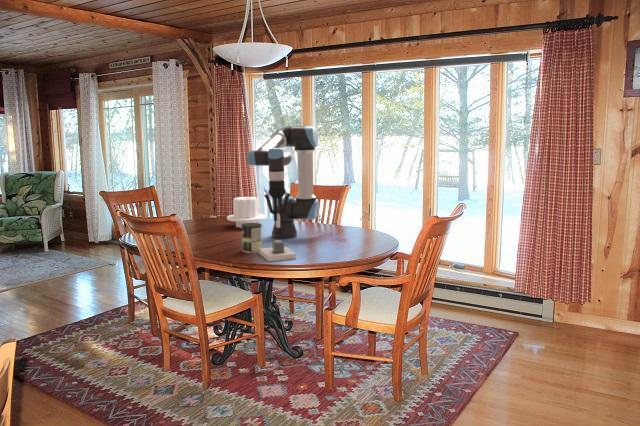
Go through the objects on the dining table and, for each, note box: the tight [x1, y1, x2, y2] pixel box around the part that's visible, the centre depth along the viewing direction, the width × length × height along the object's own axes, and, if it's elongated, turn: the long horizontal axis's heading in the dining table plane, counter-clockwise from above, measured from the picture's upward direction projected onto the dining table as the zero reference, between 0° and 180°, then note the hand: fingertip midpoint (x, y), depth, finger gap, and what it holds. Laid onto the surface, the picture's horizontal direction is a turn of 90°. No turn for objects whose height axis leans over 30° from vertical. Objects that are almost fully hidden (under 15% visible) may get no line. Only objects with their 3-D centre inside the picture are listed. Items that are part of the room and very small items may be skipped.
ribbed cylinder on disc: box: [226, 196, 266, 229], centre depth 341 cm, size 25×25×19 cm
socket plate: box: [258, 245, 297, 262], centre depth 262 cm, size 18×14×3 cm
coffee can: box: [241, 222, 263, 254], centre depth 273 cm, size 10×10×14 cm
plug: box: [272, 239, 285, 254], centre depth 260 cm, size 4×4×8 cm
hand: (278, 227), depth 259 cm, fingers closed
